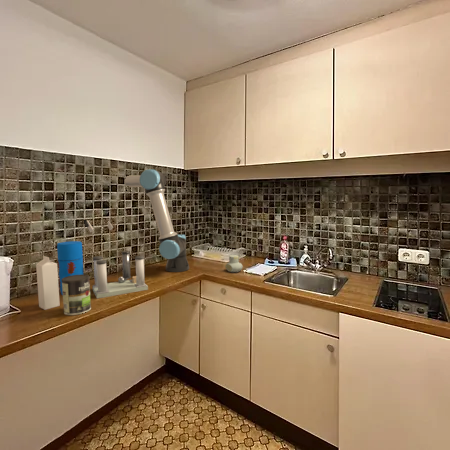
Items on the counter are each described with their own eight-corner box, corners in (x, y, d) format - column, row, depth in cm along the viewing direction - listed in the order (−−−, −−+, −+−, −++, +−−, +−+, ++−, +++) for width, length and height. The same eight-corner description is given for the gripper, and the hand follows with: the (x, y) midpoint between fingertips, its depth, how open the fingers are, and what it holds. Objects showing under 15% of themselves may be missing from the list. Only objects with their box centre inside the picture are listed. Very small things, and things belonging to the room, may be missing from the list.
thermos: (60, 297, 136) (57, 245, 133) (59, 291, 145) (56, 242, 142) (85, 293, 141) (83, 243, 139) (83, 287, 150) (80, 240, 148)
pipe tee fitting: (244, 272, 179) (244, 256, 178) (234, 274, 174) (233, 258, 173) (233, 268, 188) (233, 253, 187) (223, 270, 183) (223, 255, 182)
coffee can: (96, 306, 123) (94, 274, 122) (79, 316, 113) (77, 281, 112) (75, 305, 125) (73, 273, 124) (57, 314, 115) (55, 280, 114)
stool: (139, 281, 160) (138, 251, 158) (147, 289, 146) (146, 256, 144) (92, 289, 147) (90, 256, 145) (97, 298, 133) (95, 262, 132)
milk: (53, 302, 128) (50, 254, 126) (59, 305, 125) (57, 256, 123) (38, 307, 123) (35, 256, 122) (44, 310, 120) (41, 258, 118)
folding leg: (124, 276, 161) (123, 250, 160) (132, 277, 161) (131, 250, 159) (116, 282, 150) (115, 254, 149) (124, 282, 150) (123, 254, 149)
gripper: (99, 206, 184) (116, 231, 178) (62, 207, 162) (79, 236, 156) (105, 198, 181) (122, 224, 175) (67, 198, 159) (85, 227, 153)
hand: (102, 229), depth 166 cm, fingers open, 13 cm apart
